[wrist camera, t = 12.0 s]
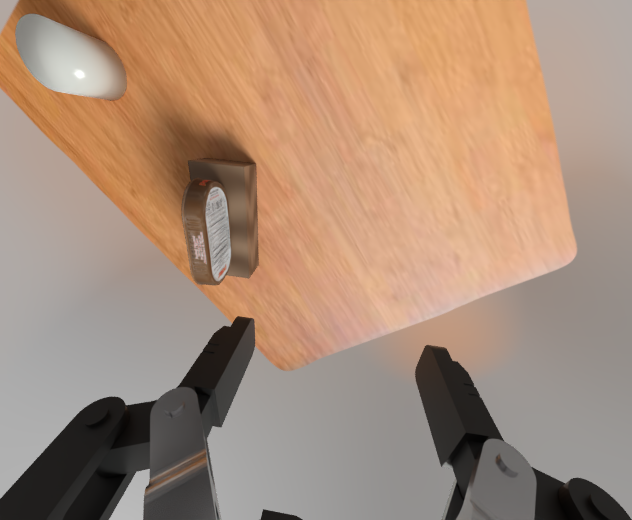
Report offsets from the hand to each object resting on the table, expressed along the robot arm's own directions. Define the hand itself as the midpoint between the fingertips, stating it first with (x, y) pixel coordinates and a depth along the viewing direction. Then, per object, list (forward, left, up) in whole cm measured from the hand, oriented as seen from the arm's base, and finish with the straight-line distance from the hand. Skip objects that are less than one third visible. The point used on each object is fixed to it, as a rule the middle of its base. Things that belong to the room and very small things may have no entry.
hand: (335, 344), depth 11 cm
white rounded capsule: (-14, -36, -30) cm, 49 cm away
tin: (+5, -18, -25) cm, 31 cm away
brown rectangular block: (+5, -18, -30) cm, 35 cm away
